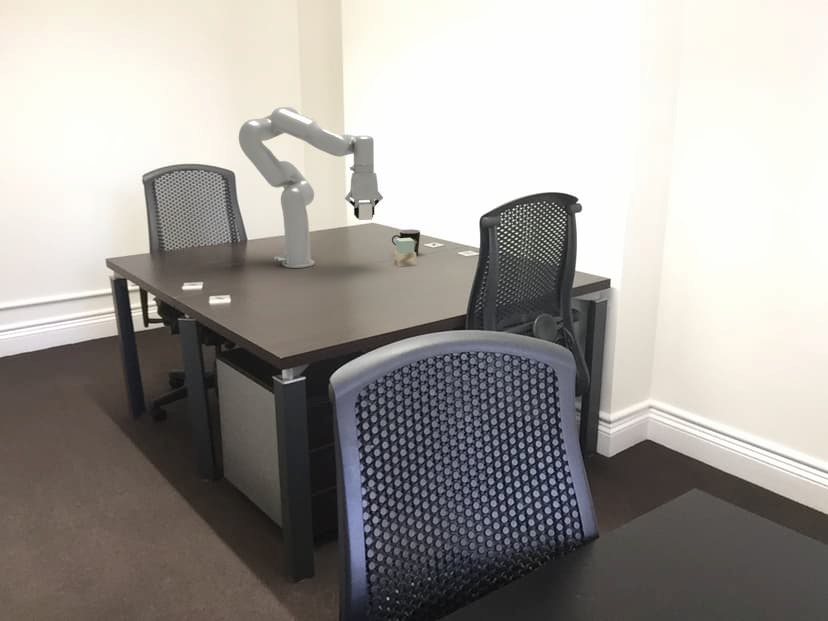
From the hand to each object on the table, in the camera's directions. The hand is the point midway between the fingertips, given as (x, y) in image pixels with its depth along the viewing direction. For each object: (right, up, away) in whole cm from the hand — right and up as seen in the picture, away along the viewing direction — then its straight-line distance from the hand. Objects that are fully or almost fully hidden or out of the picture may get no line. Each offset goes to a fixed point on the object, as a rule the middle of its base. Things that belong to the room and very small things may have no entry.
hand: (364, 216), depth 280 cm
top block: (0, -1, 0) cm, 1 cm away
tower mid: (+16, -13, +9) cm, 22 cm away
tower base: (+16, -18, +11) cm, 26 cm away
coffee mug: (+16, -13, +27) cm, 34 cm away
